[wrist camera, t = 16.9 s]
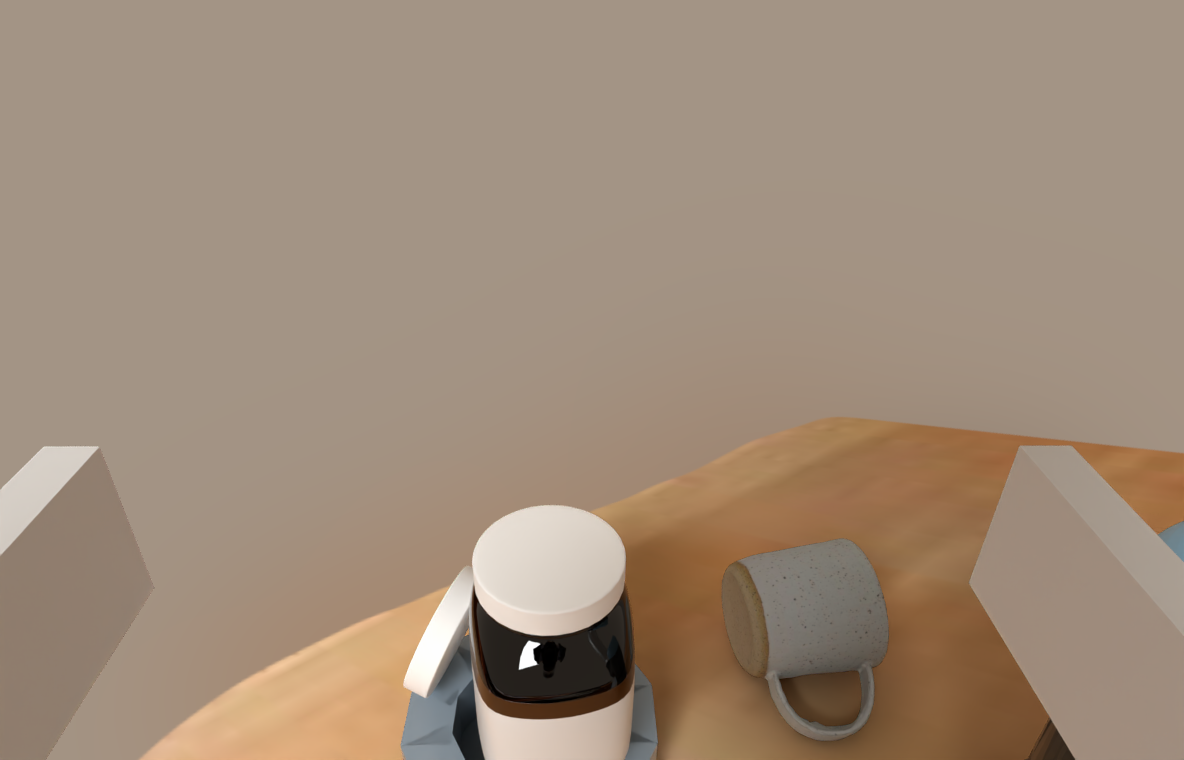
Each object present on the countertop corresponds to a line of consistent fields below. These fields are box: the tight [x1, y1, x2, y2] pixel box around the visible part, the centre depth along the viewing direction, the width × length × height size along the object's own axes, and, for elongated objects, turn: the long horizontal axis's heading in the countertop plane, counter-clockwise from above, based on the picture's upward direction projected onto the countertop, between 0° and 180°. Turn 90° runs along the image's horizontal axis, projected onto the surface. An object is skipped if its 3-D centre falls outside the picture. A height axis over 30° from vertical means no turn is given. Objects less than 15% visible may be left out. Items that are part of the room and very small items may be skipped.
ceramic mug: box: [722, 539, 889, 741], centre depth 45 cm, size 11×8×8 cm
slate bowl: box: [401, 635, 658, 760], centre depth 41 cm, size 13×13×4 cm
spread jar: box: [403, 505, 635, 760], centre depth 37 cm, size 12×11×12 cm
